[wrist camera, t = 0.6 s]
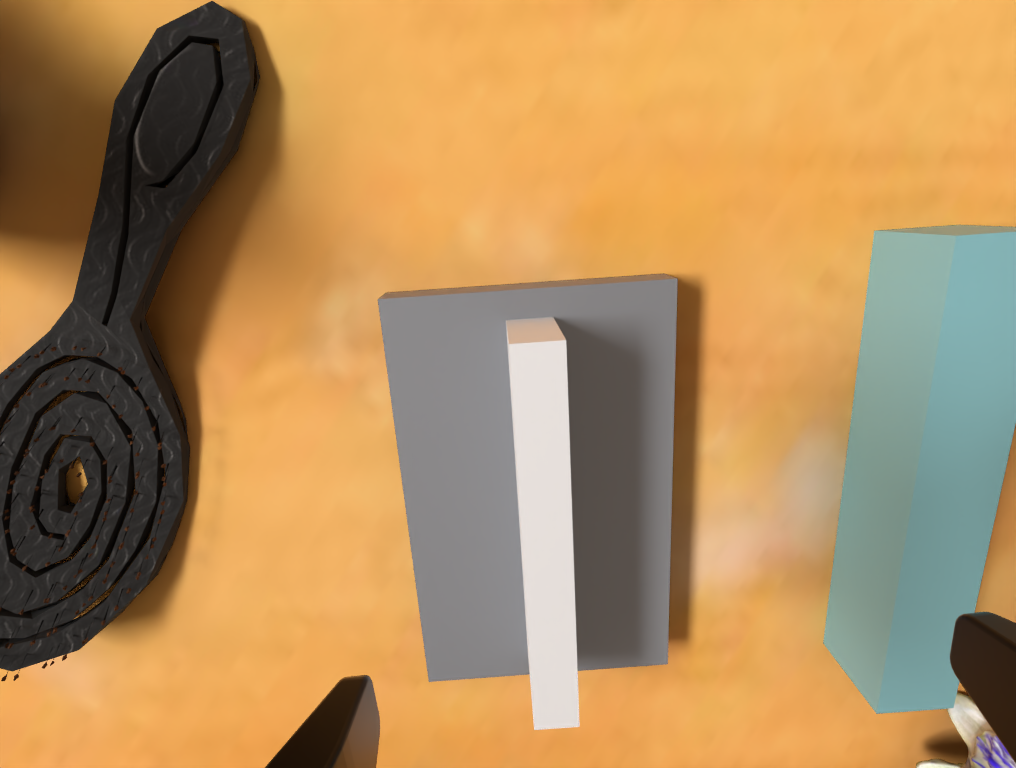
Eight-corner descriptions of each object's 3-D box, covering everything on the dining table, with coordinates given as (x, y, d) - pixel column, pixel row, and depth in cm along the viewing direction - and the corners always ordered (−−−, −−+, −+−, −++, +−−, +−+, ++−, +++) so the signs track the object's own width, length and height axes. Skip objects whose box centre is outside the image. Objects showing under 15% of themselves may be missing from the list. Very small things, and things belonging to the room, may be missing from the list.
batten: (885, 633, 26) (953, 708, 22) (819, 638, 26) (876, 713, 22) (952, 224, 20) (1057, 228, 17) (869, 230, 20) (955, 235, 16)
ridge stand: (657, 638, 25) (696, 739, 20) (432, 654, 25) (418, 760, 20) (664, 273, 20) (717, 293, 15) (385, 292, 20) (352, 319, 15)
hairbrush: (337, 59, 16) (72, 721, 21) (364, 91, 19) (131, 651, 25) (36, -109, 15) (-168, 641, 20) (123, -41, 18) (-69, 579, 23)
